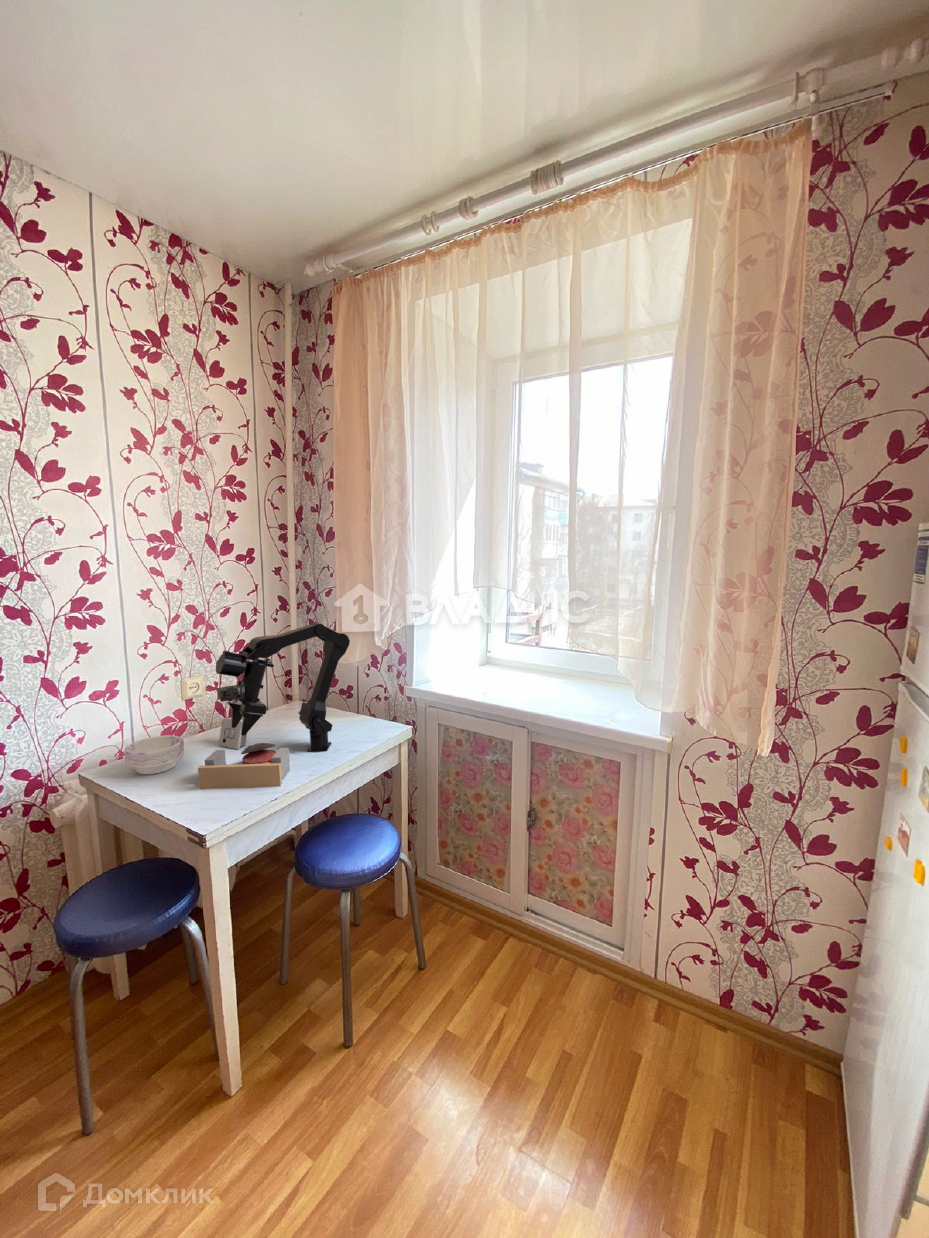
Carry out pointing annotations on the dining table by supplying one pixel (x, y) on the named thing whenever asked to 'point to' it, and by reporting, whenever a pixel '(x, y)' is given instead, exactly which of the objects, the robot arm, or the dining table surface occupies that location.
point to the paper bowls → (154, 754)
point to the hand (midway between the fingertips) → (238, 731)
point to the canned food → (258, 754)
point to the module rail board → (243, 772)
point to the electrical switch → (231, 735)
